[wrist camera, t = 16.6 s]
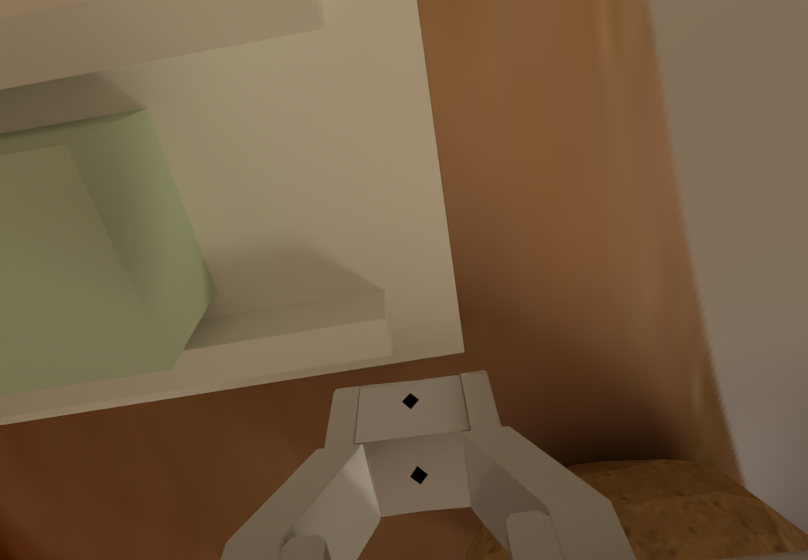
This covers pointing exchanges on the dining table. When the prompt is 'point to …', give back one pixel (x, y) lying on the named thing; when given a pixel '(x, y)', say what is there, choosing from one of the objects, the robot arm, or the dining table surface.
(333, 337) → the beige shallow tray
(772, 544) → the potato
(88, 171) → the green block
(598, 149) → the dining table surface
